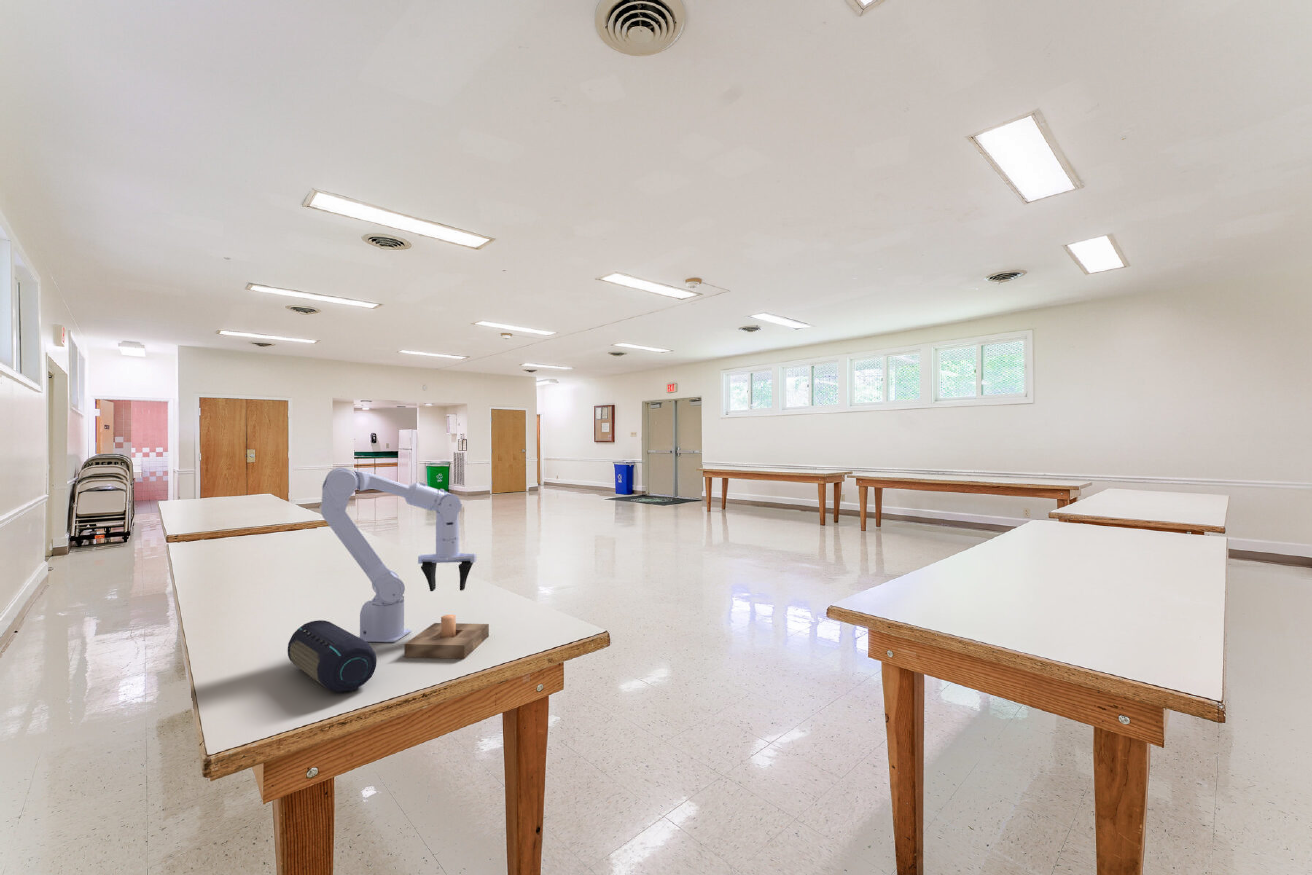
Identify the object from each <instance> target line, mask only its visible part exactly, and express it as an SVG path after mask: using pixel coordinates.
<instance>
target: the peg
mask: <svg viewBox="0 0 1312 875" xmlns="http://www.w3.org/2000/svg"><path fill="white" fill-rule="evenodd" d="M456 619H457V618H456V615H455V614H446V615H445V614H444V615H443V616H441V617H440V623H441V637H451V638H454V637H455V636H456Z"/></svg>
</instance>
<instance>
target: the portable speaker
mask: <svg viewBox="0 0 1312 875" xmlns="http://www.w3.org/2000/svg"><path fill="white" fill-rule="evenodd" d="M287 656H288V659H289V661H290V662H291V663H292V664H294V666H296V667H297V668H299V669H300V670H301V671H303V672H304V673H305V674H306V675H308V676H310V678H312V679H313V680H315V681H316V682H317V683H319V684H320V685H321V686H323V687H324V688H326V689H327V690H329V691H332V692H335V693H346V692H351V691H354V690H357V689H359V688H360V687H361V686H364V685H365V684H366V683H367V682H368V681H369V680H370V679H372V677H373V675H374V673H375V670H376V668H377V655H376V652H375V650H374V649H373V647H371V645H370V644H369V642H366V641H364V640H362V639H361V638H360V636H357V635H355V634H354V633H351V632H349V631H347V630H345V629H344V628H342V627H340V626H338V625H336V624H334V623H333V622H331V621H328V620H325V619H324V620H320V619H319V620H313V621H309V622H305V623H304V624H303V625H301V626H299V628H297V629H296V630H295V631H294V632H293V633H292V635H291V637H290V639H289V642H288V644H287Z"/></svg>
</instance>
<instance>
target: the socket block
mask: <svg viewBox="0 0 1312 875" xmlns="http://www.w3.org/2000/svg"><path fill="white" fill-rule="evenodd" d="M489 628H490V624H489V623H463V622H462V623H458V622H457V623H456V636H455V637H454V638H451V637H441V622H433V624H431V625H429V626H428V627H427V628H425V629H424V630H422V631H421V632H419V633H418V634H417V635H415V636H414V637H412V638H411V639H409V640H408V641H406V642H405V643H404V646H403V647H404V649H403V650H404V654H403V655H404V657H403V658H414V659H415V658H419V659H421V658H422V659H456V660H458V659H459V660H461V659H463V660H465V659H466V658H467V657H468V656H470V654H472V652H474V651H475V649H477V648H478V647H479V646H480V645H481V644H482V643H483V642H484V641H486V639H487V638H488V637H489V636H490V635H489V634H490V629H489Z"/></svg>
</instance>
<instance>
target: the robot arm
mask: <svg viewBox="0 0 1312 875" xmlns="http://www.w3.org/2000/svg"><path fill="white" fill-rule="evenodd" d="M321 488H322V492H321V507H320V514H321V516H322V518H323V519H324V520H325V522H326V523H327V524H328V526H329V527H330V528H331V530H332V531H333V532H334V534H335V536H336V537H337V538H338V539H339V540H340V542H341V543H342V545H343V546H344V547H345V549H346V550H347V551H348V553H349V554H351V556H352V558H353V559H354V561H356V563H357V564H358V566H359V567H360V568H361V569H362V571H363V572H364V573H365V575H366V576H367V578H368V579H369V581H370V582H371V587H372V590H373V591H374V592H375V595H374V597H373V598H372V599H371V600H367V601H366V602H365V603H363V604H362V606H361V610H360V613H359V638H361V639H362V640H364V641H366V642H368V643H370V642H372V643H374V642H375V643H396V642H397V641H399V640H400V639H402V638H403V637H405V636H406V635H408V634H409V633H411V632H412V629H411V628H405V596H404V594H405V590H406V588H405V583H404V582H403V580H401V579H400V577H399V575H398V574H397V573H396V572H395V571H393V570H390V569H389V568H388V567H387V565H386V564H385V563H384V562H383V561H382V560H381V558H380V557H379V555H378V554H377V553H376V551H375V549H374V548H373V547H372V546H371V544H370V543H369V541H368V540H367V539H366V537H365V536H364V534H362V532H361V531H360V530H359V528H358V526H357V525H356V524H355V523H354V521H353V519H352V518H351V516H349V514H348V513H347V511H346V509H347V508H348V503H349V500H350V498H351V497H352V496H353V494H354V493H355V491H356V490H358V491H360V492H362V491H366V490H367V491H368V490H372V489H373V490H376V491H379V492H384V493H388V494H391V495H395V496H399V497H402V498H404V500H405V502H406V504H407V505H410V506H412V507H413V506H414V507H417V508H419V509H420V508H421V509H424V510H427V511H431V512H433V511H435V512H436V514H435V516H436V517H435V518H436V519H435V520H436V521H435V553H432V554H431V553H430V554H420V555H418V557H417V564H418V565H421V564H422V565H421V566H420V570H421V572H422V573H423V575H424V576H425V578H426V581H427V585H428V586H429V591H430V592H434V591H435V590H436V589H437V588H436V587H437V582H436V579H437V578H436V574H437V573H436V571H437V565H438V563H439V564H442V563H445V564H447V563H459V564H458V569H459V570H458V571H459V591H462V592H463V591H464V590H465V589H466V583H467V579H468V576H469V574H470V571H471V568H472V566H473V565H474V563H476V562H477V553H465V552H464V553H462V552H460V522H459V521H460V520H459V512H460V511H461V509H462V506H463V504H462V503H461V499H460V498H459V497H458V496H457V495H455V494H453V493H450V492H449V491H445V489H444V488H440V489H438V488H435V487H431V486H428V485H427V482H423V481H421V482H420V483H418V482H414V483H412V484H410V485H407V484H405V483H401V482H398V481H396V480H393V479H389V478H387V477H383V476H380V475H378V474H375V473H372V472H369V471H363V470H356V469H353V470H351V469H349V468H347V467H336V468H334V469H332V470H330V471H329V472H328V474H327V475H326V477H325V480H324V481H323V483H322V487H321Z"/></svg>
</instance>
